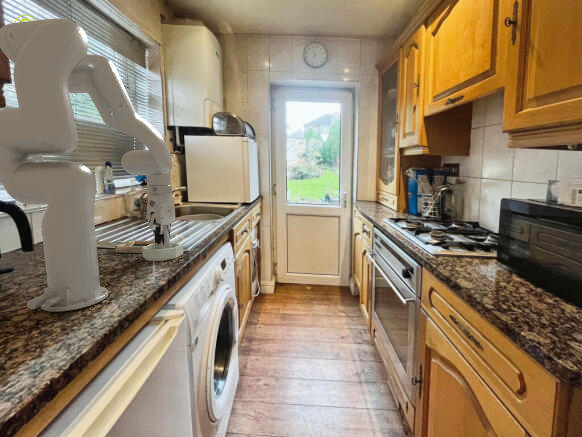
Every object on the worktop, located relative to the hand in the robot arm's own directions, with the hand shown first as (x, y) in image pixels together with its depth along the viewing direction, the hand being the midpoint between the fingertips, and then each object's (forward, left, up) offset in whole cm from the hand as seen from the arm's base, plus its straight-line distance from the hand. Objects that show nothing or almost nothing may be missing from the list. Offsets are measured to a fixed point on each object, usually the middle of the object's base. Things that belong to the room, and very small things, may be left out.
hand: (162, 243), depth 102 cm
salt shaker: (0, 0, -4) cm, 4 cm away
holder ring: (0, 0, -4) cm, 4 cm away
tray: (+7, +14, -4) cm, 16 cm away
